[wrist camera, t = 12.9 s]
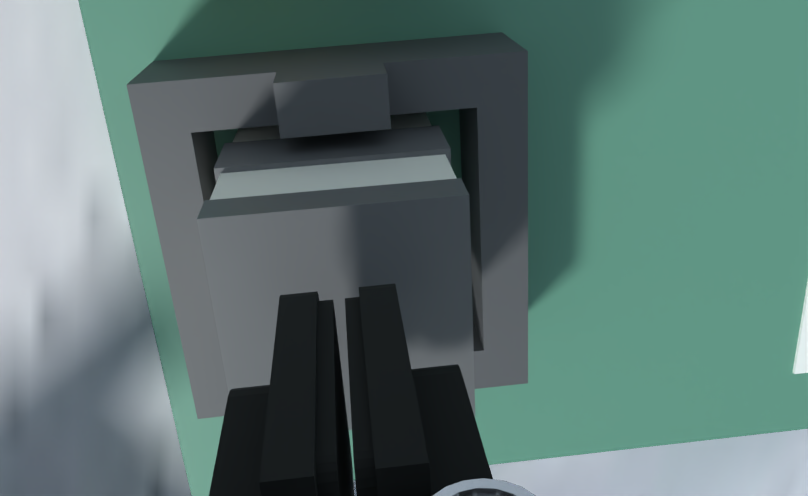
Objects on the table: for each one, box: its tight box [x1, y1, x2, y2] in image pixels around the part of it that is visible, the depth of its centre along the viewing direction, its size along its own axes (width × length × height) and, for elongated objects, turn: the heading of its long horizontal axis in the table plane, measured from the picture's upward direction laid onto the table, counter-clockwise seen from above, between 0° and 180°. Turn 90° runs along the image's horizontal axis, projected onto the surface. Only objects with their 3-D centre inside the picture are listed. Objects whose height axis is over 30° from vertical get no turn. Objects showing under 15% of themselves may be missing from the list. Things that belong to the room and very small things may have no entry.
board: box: [78, 0, 808, 496], centre depth 17 cm, size 16×22×5 cm
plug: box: [197, 112, 475, 430], centre depth 15 cm, size 4×4×6 cm
